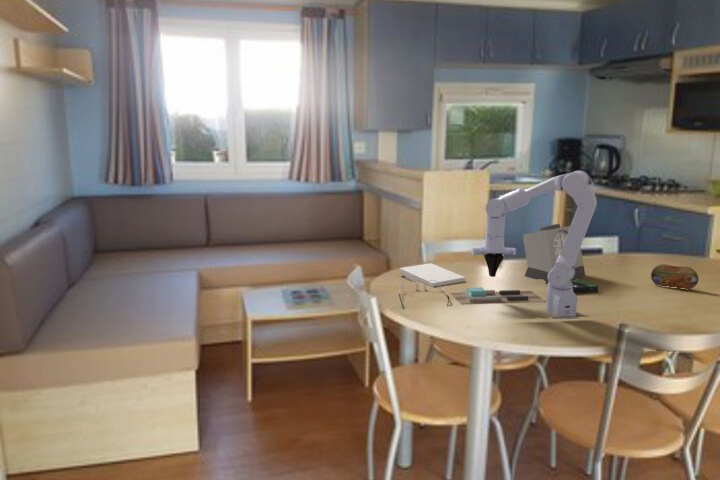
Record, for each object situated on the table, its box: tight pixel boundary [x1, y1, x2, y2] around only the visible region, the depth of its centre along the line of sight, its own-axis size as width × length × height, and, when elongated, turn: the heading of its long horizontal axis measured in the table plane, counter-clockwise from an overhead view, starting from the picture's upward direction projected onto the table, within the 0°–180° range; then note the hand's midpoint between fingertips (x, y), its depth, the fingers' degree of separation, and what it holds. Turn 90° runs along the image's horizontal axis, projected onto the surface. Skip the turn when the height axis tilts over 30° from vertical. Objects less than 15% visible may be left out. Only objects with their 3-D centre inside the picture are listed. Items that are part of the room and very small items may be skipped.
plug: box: [466, 287, 487, 296], centre depth 186 cm, size 4×5×3 cm
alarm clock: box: [522, 223, 586, 282], centre depth 218 cm, size 20×16×20 cm
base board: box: [450, 290, 547, 306], centre depth 187 cm, size 12×29×1 cm, turn 99°
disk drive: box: [545, 278, 599, 295], centre depth 202 cm, size 10×3×15 cm
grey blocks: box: [498, 289, 528, 301], centre depth 188 cm, size 7×7×1 cm
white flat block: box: [398, 262, 466, 288], centre depth 210 cm, size 15×3×20 cm
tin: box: [650, 263, 699, 290], centre depth 206 cm, size 15×3×8 cm, turn 62°
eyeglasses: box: [398, 279, 450, 310], centre depth 185 cm, size 16×19×5 cm
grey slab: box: [461, 289, 502, 302], centre depth 186 cm, size 7×11×2 cm, turn 99°
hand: (492, 276), depth 185 cm, fingers closed
